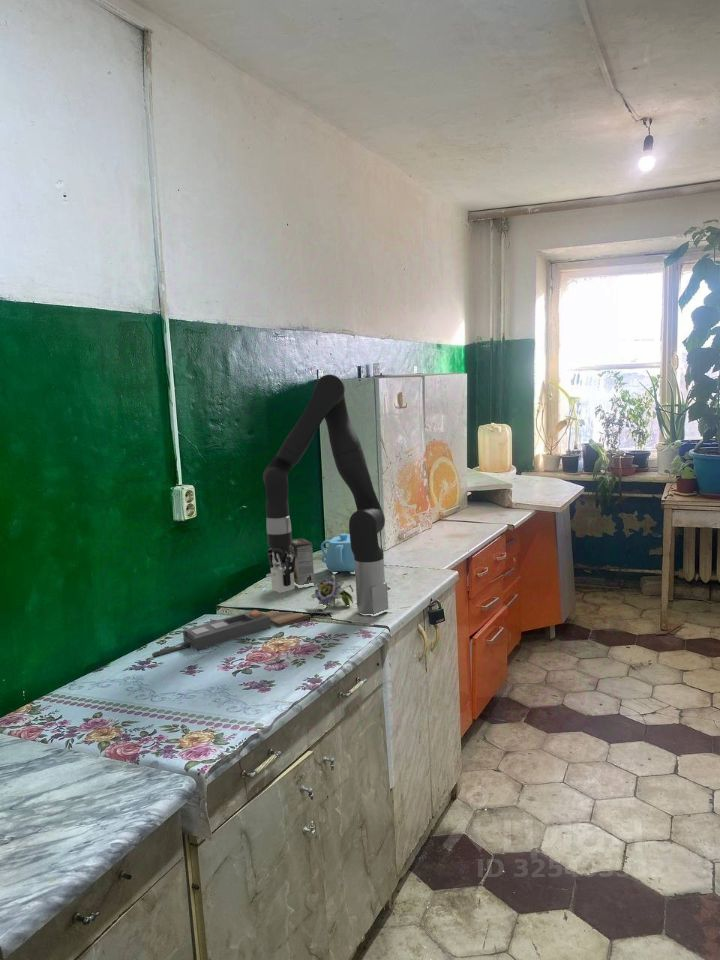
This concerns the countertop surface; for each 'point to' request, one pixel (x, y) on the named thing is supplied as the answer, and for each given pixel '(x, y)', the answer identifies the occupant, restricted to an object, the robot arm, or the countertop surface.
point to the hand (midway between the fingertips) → (283, 583)
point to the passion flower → (332, 592)
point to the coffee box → (302, 561)
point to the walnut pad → (285, 617)
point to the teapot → (339, 554)
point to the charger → (280, 580)
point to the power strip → (222, 630)
